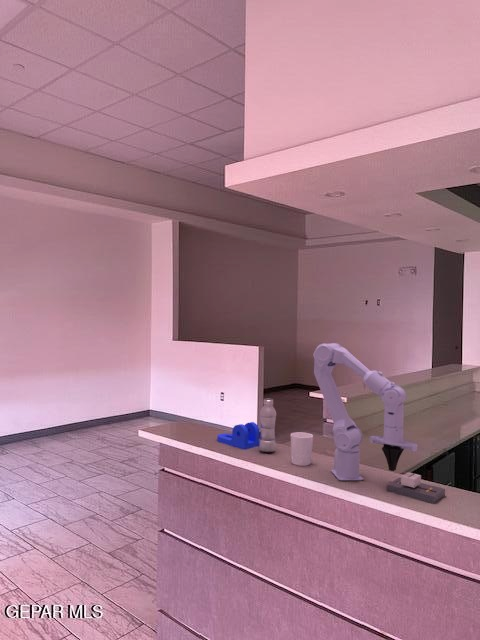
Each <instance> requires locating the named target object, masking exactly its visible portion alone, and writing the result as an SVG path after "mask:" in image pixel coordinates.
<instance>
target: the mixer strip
mask: <svg viewBox="0 0 480 640" xmlns="http://www.w3.org/2000/svg"><path fill="white" fill-rule="evenodd" d="M386 491H387V492H389V493H393V494H396V495H401V496H403V497H408V498H411V499H415V500H419V501H422V502H426V503H429V504H436V503H437V502H439V501H440V500H441V499H442V498H443V497H445V496H446V488H443V487H439V486H434V485H432V484H427V483H422V482H421V484H419V485H418V486H416V487H415V488H413V487H409V486H406V485H402V484H401V477H398V478H395V479H394V480H392V481H390V482H389V483H386Z"/></svg>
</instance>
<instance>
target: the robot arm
mask: <svg viewBox="0 0 480 640" xmlns="http://www.w3.org/2000/svg"><path fill="white" fill-rule="evenodd" d="M312 355H313V358H314V363H313V364H314V365H313V375H314V377H315V380H316V382H317V384H318V387H319V389H320V392H321V394H322V397H323V399H324V401H325V404H326V407H327V409H328V412H329V414H330V416H331V419H332V422H333V427H332V434H333V437H334V438H333V442H334V445H335V446H336V449H335V450H334V454H333V455H334V456H333V458H334V459H333V462H334V463H333V469H331V471H330V472H331V473H332V474H333V475H334V476H335V477H336V478H337V480H338V481H364V478H363V477H362V476H361V475H360V455H361V454H360V453H361V452H360V450H361V449H360V444H362V442H363V440H364V435H363V432H362V430H361V429H359V428H358V426H357V425H356V422H355V421H354V420H353V419H352V418H351V417H350V416H349V413H348V412H347V409H346V406H345V404H344V400H343V399H342V396H341V393H340V392H339V388H338V387H337V384H336V381H335V379H334V377H333V375H332V372H333V370H334V368H335V366H336V365H337V364H338V365H339V364H341V365H344V366H346V367H347V368H348V369H350V370H351V371H353V372H354V373H355V374H356V375H358V376H360V377H361V378H362V379H363V383H364V385H365V386H366V388H368V389H369V390H371V391H372V392H374V394H376V395H377V396H378V397H379V398H381V401H382V403H383V404H384V411H383V436H378V435H371V436H369V443H370V444H378V445H383V446H381V451H382V452H383V454H384V456H385V459H386V463H387V466H388V471H391V472H394V471H396V470H397V467H398V463H399V459H400V458H401V455H402V453H403V452H404V450H408V451H411V452H415V453H416V452H417V451H418V447H419V444H417V443H415V442H414V443H413V442H410V441H407V440H404V415H405V412H404V405H405V404H404V402H405V401H406V400H407V393H406V390H405V389H404V388H403V387H402V386H401V385H396V383H395V382H394V381H390V380H389V379H387V378H386V377H385V376H384V373H383V372H382V371H377V370H375V369H374V370H370V369H369V368H368V367H367V366H366V365H364V363H362V362H361V361H359V360H358V358H357V357H355V356H354V355H353V354H352V353H351V352H349V350H348V349H347V348H345V347H343V346H342V345H341V344H339V343H338V342H331V343H320V344H319V345H317V346H316V348H315V349H314V352H313V354H312Z"/></svg>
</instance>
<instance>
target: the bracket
mask: <svg viewBox="0 0 480 640" xmlns="http://www.w3.org/2000/svg"><path fill="white" fill-rule="evenodd" d="M216 438H217V439H216V441H217V442H218V443H221V444H225V445H227V446H230V447H234V448H237V449H240V450H249V449H252V448H257V447H259V440H260V428H259V425H258V424H257V423H256V422H254V421H251V422H247V423H245V424H243V423H241V424H236V425H234V426H233V428H232V431H231V433H219V434H217V437H216Z"/></svg>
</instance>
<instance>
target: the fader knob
mask: <svg viewBox="0 0 480 640" xmlns="http://www.w3.org/2000/svg"><path fill="white" fill-rule="evenodd" d="M400 478H401V484H402V485H406V486H409V487H413V488H415V487H416V486H418V485H419V484H421V483H422V475H421V474H417V473H413V472H409V471H408V472H406V473H404V474H402V475H401V477H400Z"/></svg>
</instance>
